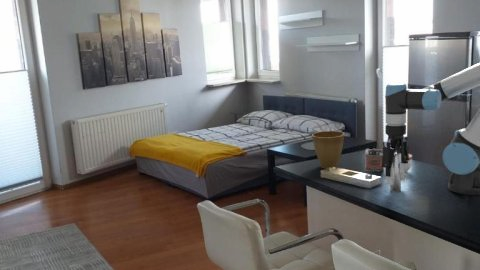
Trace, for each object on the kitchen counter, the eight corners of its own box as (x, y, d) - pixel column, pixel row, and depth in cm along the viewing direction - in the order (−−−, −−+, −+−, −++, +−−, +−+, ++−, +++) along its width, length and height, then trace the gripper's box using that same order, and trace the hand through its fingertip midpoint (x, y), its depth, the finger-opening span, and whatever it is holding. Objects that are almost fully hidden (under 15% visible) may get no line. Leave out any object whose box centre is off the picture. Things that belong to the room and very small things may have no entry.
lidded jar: (415, 175, 208) (415, 153, 207) (390, 176, 209) (390, 155, 207) (407, 168, 219) (407, 148, 217) (383, 169, 219) (383, 149, 217)
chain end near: (381, 183, 199) (381, 174, 198) (369, 188, 194) (369, 178, 193) (350, 177, 211) (350, 168, 210) (338, 181, 206) (338, 172, 205)
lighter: (364, 170, 219) (364, 149, 217) (366, 168, 222) (366, 147, 220) (383, 172, 216) (382, 150, 214) (384, 170, 219) (384, 148, 217)
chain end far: (361, 179, 207) (361, 170, 206) (349, 183, 202) (349, 174, 201) (332, 173, 219) (332, 164, 218) (320, 176, 214) (320, 168, 213)
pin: (402, 190, 189) (403, 153, 187) (397, 192, 187) (397, 155, 184) (393, 188, 192) (394, 151, 190) (388, 190, 190) (388, 153, 187)
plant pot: (323, 161, 240) (322, 129, 237) (350, 165, 230) (350, 132, 227) (306, 168, 229) (305, 135, 226) (334, 172, 219) (333, 138, 216)
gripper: (402, 119, 194) (401, 174, 198) (371, 127, 181) (371, 185, 186) (419, 121, 188) (418, 177, 192) (388, 129, 175) (388, 189, 180)
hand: (395, 181), depth 189 cm, fingers open, 8 cm apart
